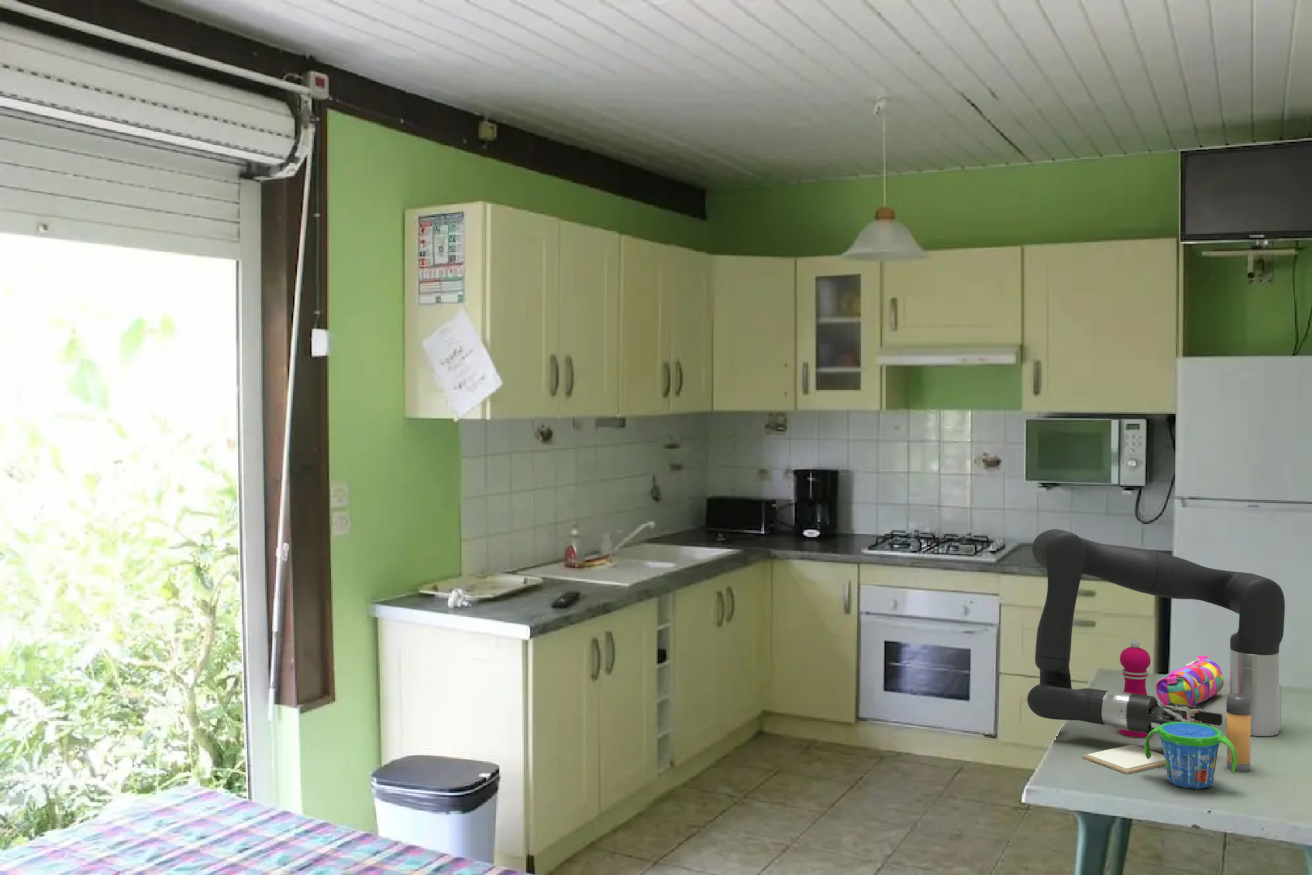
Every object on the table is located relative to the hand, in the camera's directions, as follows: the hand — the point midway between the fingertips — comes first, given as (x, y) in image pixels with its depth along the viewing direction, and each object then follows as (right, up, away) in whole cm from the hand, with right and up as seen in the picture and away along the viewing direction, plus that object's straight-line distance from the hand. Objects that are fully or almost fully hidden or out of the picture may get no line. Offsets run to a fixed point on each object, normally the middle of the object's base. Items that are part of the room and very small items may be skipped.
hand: (1216, 725), depth 218 cm
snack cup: (-10, -9, -10) cm, 16 cm away
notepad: (-15, -8, +4) cm, 18 cm away
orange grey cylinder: (+3, -8, -2) cm, 9 cm away
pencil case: (+16, -6, +43) cm, 47 cm away
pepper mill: (-7, -7, +21) cm, 23 cm away
